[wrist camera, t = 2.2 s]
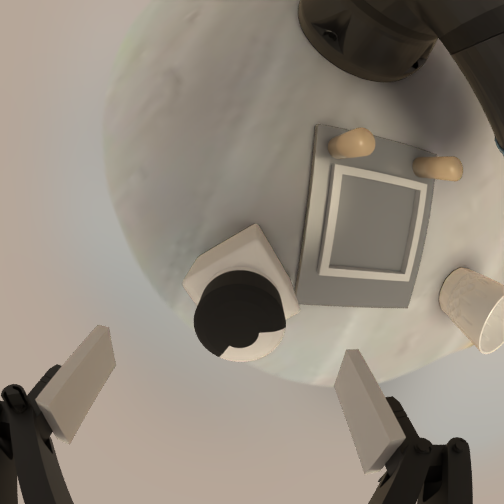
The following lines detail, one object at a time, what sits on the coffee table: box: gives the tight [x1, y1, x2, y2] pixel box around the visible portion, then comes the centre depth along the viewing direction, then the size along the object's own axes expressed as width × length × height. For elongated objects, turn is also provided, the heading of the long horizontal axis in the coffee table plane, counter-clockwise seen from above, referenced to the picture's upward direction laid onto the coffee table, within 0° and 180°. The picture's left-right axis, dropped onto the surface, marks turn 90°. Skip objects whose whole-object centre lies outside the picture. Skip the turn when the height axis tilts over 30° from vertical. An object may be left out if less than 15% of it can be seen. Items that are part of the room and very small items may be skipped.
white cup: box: [439, 268, 504, 354], centre depth 25 cm, size 8×8×10 cm
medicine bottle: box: [182, 224, 300, 362], centre depth 23 cm, size 7×7×12 cm
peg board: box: [295, 124, 463, 308], centre depth 24 cm, size 18×14×7 cm
